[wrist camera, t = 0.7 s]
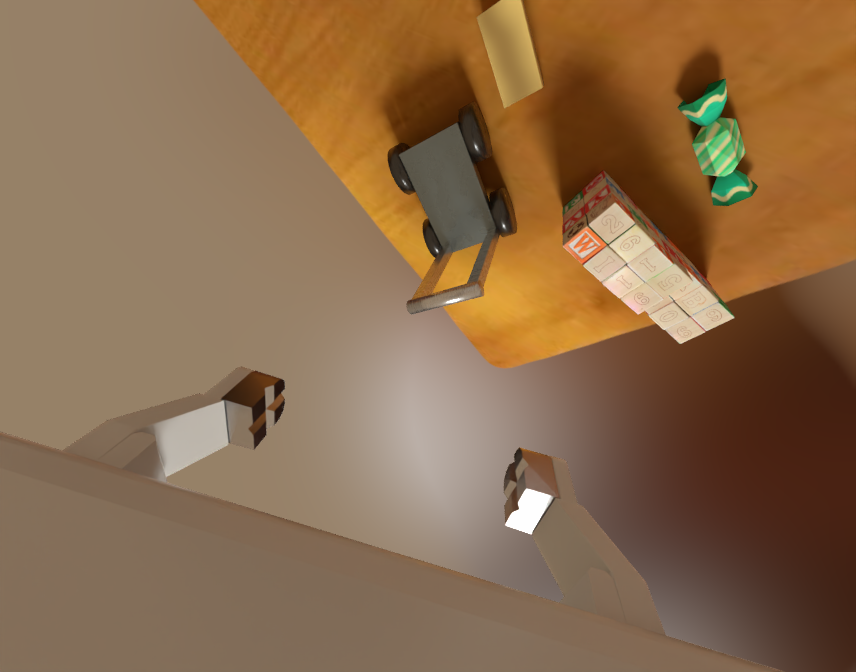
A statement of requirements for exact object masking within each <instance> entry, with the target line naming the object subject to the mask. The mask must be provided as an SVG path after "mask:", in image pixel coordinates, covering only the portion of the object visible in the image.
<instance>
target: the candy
mask: <svg viewBox="0 0 856 672" xmlns="http://www.w3.org/2000/svg"><path fill="white" fill-rule="evenodd" d="M726 99H727V90H726V79H722V80H719V81H717V82H714V83H711V84H708V87H707V89H706V91H705V93H704V95H703V97H702V98H700V99H698V100H697V101H695V102H693V103H691V104H688V105H687V104H686V102H685V101H684V100H683V102H682V103H681V104H680V105H679V106H678V109H679V110H680V111H681V112H682V113H683V114H684V115H685V116H686V117H687V118H689V119H690V120H691V121H693V122H695V123H696V124H698V125H700V126H702V128H701V129H700V131H699V133H698V134H697V136H696V138H695V140H694V141H693V143H692V145H693V148H694V151H695V153H696V156H697V159H698V162H699V164H700V167H701V170H702V173H703V174H704V175H712V176H717V179H716V181H715V184H714V186H713V189H712V191H711V193H712V201H713V205H717V206H729V205H732V204H734V203H736V202H739V201H741V200H744V199H746V198H749V197H751V196H752V195H753V193H754V192H755V190H756V189H757V187H758V186H757V185H756V184H755V183H754V182H753V181H752V180H751V179H750V178H749V177H748V176H747V175H745V174H743V173H741V172H740V171H738V170H736V169H735V168H736V166H737V165H738V163H739V162H740V160H741V159H742V157H743V156H744V154H745V153H746V151H745V148H744V145H743V141H742V138H741V135H740V131H739V128H738V125H737V121H736V119H731V118H721V117H720V116H721V113H722V110H723V108H724V105H725V102H726Z"/></svg>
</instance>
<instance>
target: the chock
mask: <svg viewBox="0 0 856 672" xmlns="http://www.w3.org/2000/svg"><path fill="white" fill-rule="evenodd" d="M477 20H478V23H479V27H480V30H481V33H482V36H483V40H484V43H485V46H486V49H487V53H488V56H489V59H490V63H491V66H492V69H493V72H494V76H495V79H496V82H497V86H498V89H499V92H500V95H501V99H502V102H503V105H504V108H506V107H508V106H510V105H512V104H514V103H515V102H517V101H519V100H521V99H523V98H525V97H527V96H528V95H530V94H532V93H534V92H536V91H538V90H539V89H541V88H543V86H544V82H543V78H542V74H541V70H540V66H539V62H538V58H537V54H536V50H535V46H534V41H533V37H532V33H531V29H530V25H529V21H528V17H527V13H526V9H525V5H524V1H523V0H500V1H499V2H497V3H496V4H495V5H493V6H492V7H490V8H489V9H488V10H486V11H485V12H483V13H482V14H481V15H479V16H478V17H477Z"/></svg>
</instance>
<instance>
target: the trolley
mask: <svg viewBox="0 0 856 672" xmlns="http://www.w3.org/2000/svg"><path fill="white" fill-rule="evenodd" d="M491 156H492V147H491V141H490V137H489V133H488V130H487V126H486V123H485V121H484V118H483V116H482V113H481V111H480V109H479V107H478V106H477V104H476V103H475V102H472V103H470V104H468V105H466V106H465V107H463V108H461V109H460V110H459V121H458V122H457V123H455V124H453V125H451V126H449V127H448V128H446V129H444V130H442V131H440V132H439V133H437V134H435V135H433V136H431V137H429V138H428V139H426V140H424V141H422V142H420V143H419V144H417V145H415V146H413V147H411V148H410V147H409V146H408V145H407V144H405V143H400V144H398V145H396V146H395V147H393V148H391V149H390V150H389V151H388V164H389V168H390V171H391V174H392V176H393V178H394V180H395V182H396V184H397V185H398V187H399V188H400V189H401V190H402V191H403V192H404V193H406V194H408V195H410V194H412V193H415V192H416V193H417V195H418V197H419V199H420V201H421V203H422V206H423V208H424V210H425V212H426V214H427V216H428V219H426V220H425V221H424V222H423V235H424V239H425V243H426V245H427V247H428V249H429V251H430V253H431V254H432V255H433V256H434V257H435V258H436V259H435V260H434V262H433V264H432V265H431V267H430V269H429V271H428V272H427V274H426V276H425V277H424V279H423V281H422V282H421V284H420V286H419V288H418V289H417V291H416V293H415V294H414V296H413V298H412V299H411V300H409V301H407V310H408V312H409V313H410V314H416V313H419V312H423V311H427V310H431V309H435V308H439V307H443V306H447V305H450V304H454V303H458V302H462V301H466V300H470V299H474V298H478V297H481V296H484V288H483V287H484V283H485V280H486V277H487V274H488V271H489V267H490V264H491V261H492V258H493V255H494V251H495V248H496V245H497V242H498V239H499V235H501V236H502V237H506V236H509V235H512V234H515V233H516V232H517V223H516V217H515V212H514V209H513V205H512V202H511V199H510V197H509V194H508V192H507V191H506V189H505V188H504V187H503V188H500V189H498V190H495V191H493V192H491V193H490V197H489V199H490V202H489V199H488V196H487V193H486V191H485V188H484V185H483V182H482V180H481V177H480V174H479V171H478V169H477V166H476V163H475V161H476V162H477V163H478V162H481V161H483V160H485V159H487V158H489V157H491ZM482 242H483V244H482V246H481V249H480V251H479V254H478V257H477V259H476V262H475V264H474V267H473V270H472V272H471V275H470V277H469V280H468V282H467V284H465V285H461V286H457V287H454V288H450V289H447V290H443V291H440V292H436V293H433V294H432V292H433V290H434V288H435V286H436V284H437V282H438V280H439V278H440V276H441V275H442V273H443V271H444V269H445V267H446V265H447V263H448V261H449V259H450V257H451V255H452V253H453V252H455V251H458V250H461V249H464V248H467V247H470V246H473V245H476V244H479V243H482Z"/></svg>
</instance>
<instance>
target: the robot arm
mask: <svg viewBox="0 0 856 672" xmlns="http://www.w3.org/2000/svg"><path fill="white" fill-rule="evenodd" d="M284 389H285V381H284V380H283V379H280V378H277V377H274V376H271V375H268V374H264V373H261V372H258V371H254V370H251V369H247V368H245V367H238V368H236V369H235V370H233V371H232V372H231V373H230V374H228V376H226V377H225V378H223V379H222V380H221V381H220V382H219V383H217V384H216V385H215V386H214V387H212V388H211V389H210V390H209V391H207V392H206V393H205V394H204V395H203V394H200V393H199V394H195V395H192V396H188V397H185V398H182V399H178V400H175V401H171V402H168V403H164V404H161V405H158V406H154V407H150V408H147V409H144V410H140V411H137V412H133V413H130V414H126V415H123V416H120V417H116V418H113V419H110V420H107V421H105V422H104V423H102V424H101V425H99V426H98V427H96V428H95V429H94V430H92V431H91V432H89V433H88V434H86V435H85V436H83V437H82V438H80V439H79V440H77V441H76V442H74V443H73V444H71V445H70V446H68V447H67V448H65V449H64V450H59V449H56V448H52V447H49V446H46V445H42V444H39V443H36V442H33V441H30V440H26V439H23V438H19V437H16V436H13V435H10V434H7V433H3V432H0V672H784V671H781V670H777V669H774V668H770V667H767V666H764V665H761V664H757V663H754V662H751V661H748V660H744V659H741V658H738V657H735V656H731V655H728V654H725V653H721V652H718V651H715V650H712V649H708V648H705V647H702V646H699V645H695V644H692V643H688V642H685V641H682V640H679V639H676V638H672V637H669V636H666V635H665V632H664V630H663V627H662V624H661V621H660V619H659V616H658V613H657V611H656V608H655V605H654V603H653V600H652V597H651V594H650V592H649V589H648V586H647V583H646V582H645V580H644V579H643V578H642V577H641V576H640V574H639V573H638V572H637V571H636V570H635V568H634V567H633V566H632V565H631V564H630V562H629V561H628V560H627V559H626V558H625V556H624V555H623V554H622V553H621V552H620V550H619V549H618V548H617V547H616V546H615V544H614V543H613V542H612V541H611V540H610V538H609V537H608V536H607V535H606V534H605V532H604V531H603V530H602V529H601V528H600V527H599V525H598V524H597V523H596V522H595V521H594V519H593V518H592V517H591V515H590V514H589V513H588V512H587V511H586V509H585V508H584V507H583V506H581V505H578V503H577V499H576V495H575V491H574V488H573V484H572V480H571V476H570V473H569V469H568V465H567V462H566V461H565V460H563V459H560V458H556V457H552V456H548V455H544V454H541V453H537V452H534V451H530V450H527V449H523V448H518V449H517V451H516V453H515V454H514V461H515V462H513V463H512V464H509V466H508V469H507V471H506V475H505V478H504V494H505V495H506V497H507V499H508V500H507V501H506V503H505V505H504V507H505V525H507V526H510V527H513V528H516V529H519V530H522V531H525V532H528V533H531V534H532V537H533V539H534V541H535V543H536V545H537V546H538V548H539V550H540V552H541V554H542V556H543V558H544V560H545V562H546V563H547V565H548V567H549V569H550V571H551V573H552V575H553V576H554V578H555V580H556V581H557V584H558V586H559V588H560V590H561V591H562V593H563V595H564V598H563V599H562V600H561V601H560V602H559V603H558V602H555V601H551V600H548V599H545V598H542V597H538V596H535V595H532V594H529V593H525V592H522V591H519V590H516V589H512V588H509V587H506V586H503V585H500V584H496V583H493V582H490V581H486V580H483V579H480V578H477V577H473V576H470V575H467V574H464V573H460V572H457V571H453V570H451V569H447V568H443V567H440V566H437V565H434V564H431V563H428V562H424V561H421V560H418V559H414V558H411V557H408V556H404V555H401V554H398V553H395V552H391V551H388V550H385V549H381V548H378V547H375V546H372V545H368V544H365V543H362V542H359V541H356V540H352V539H349V538H346V537H343V536H339V535H336V534H333V533H330V532H326V531H323V530H319V529H316V528H313V527H310V526H307V525H303V524H300V523H297V522H294V521H291V520H287V519H284V518H280V517H277V516H274V515H271V514H268V513H264V512H261V511H258V510H254V509H251V508H248V507H245V506H242V505H238V504H235V503H231V502H228V501H225V500H221V499H219V498H215V497H212V496H209V495H206V494H202V493H199V492H196V491H192V490H189V489H186V488H183V487H179V486H176V485H173V484H170V483H167V479H166V477H167V476H169V475H171V474H173V473H175V472H177V471H179V470H181V469H183V468H184V467H186V466H188V465H190V464H192V463H194V462H196V461H198V460H200V459H202V458H204V457H206V456H208V455H209V454H211V453H213V452H215V451H217V450H219V449H221V448H223V447H225V446H227V445H228V444H229V443H231V444H234V445H238V446H242V447H245V448H249V449H253V450H254V449H255V448H256V447H257V446H258V445H259V443H260V442H261V441H262V440H263V439H264V437H265V436H266V429H267V428H269V427H271V426H274V425H275V424H276V423H277V421H278V420H279V419H280V416H281V414H282V412H283V410H284V405H285V399H284V397H283V395H282V394H281V393H282V392H283V390H284Z"/></svg>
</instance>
